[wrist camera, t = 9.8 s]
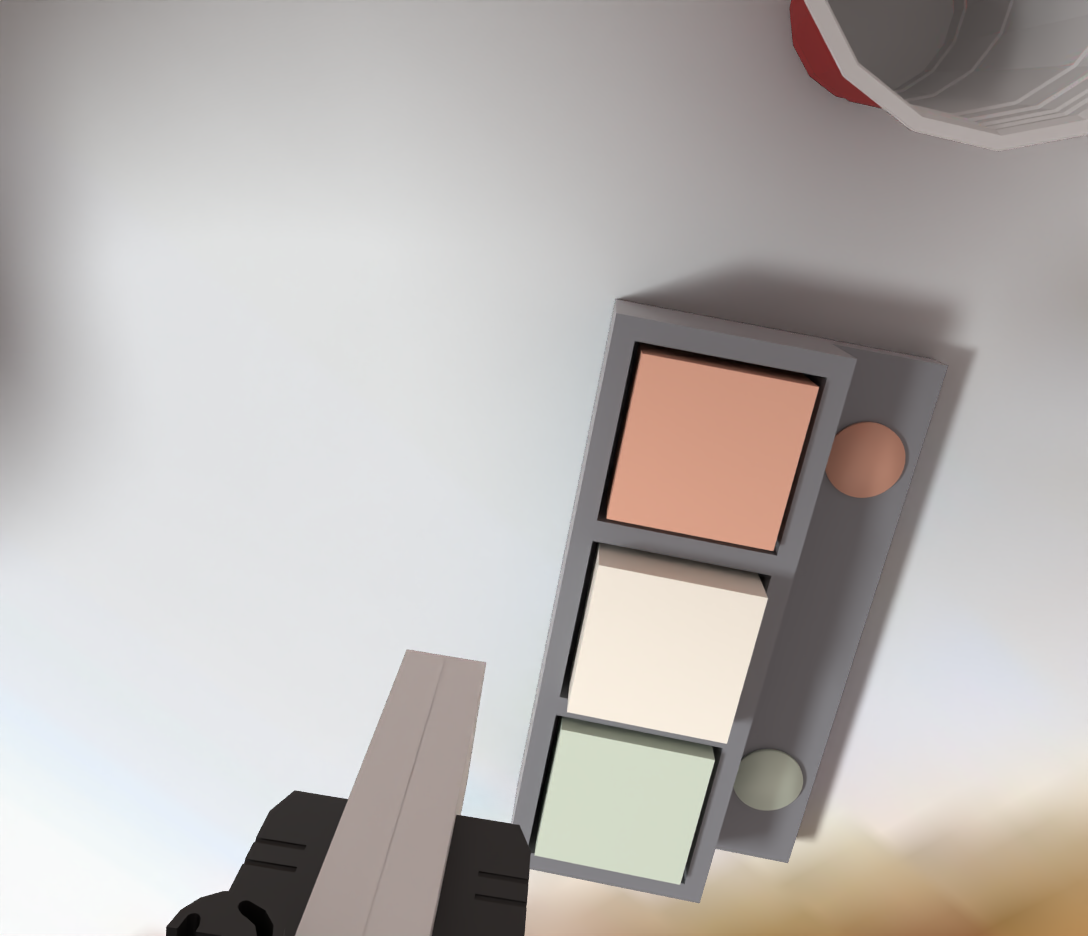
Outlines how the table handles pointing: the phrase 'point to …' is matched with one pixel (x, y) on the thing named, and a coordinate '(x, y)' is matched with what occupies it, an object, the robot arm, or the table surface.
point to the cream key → (665, 642)
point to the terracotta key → (709, 446)
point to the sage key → (622, 799)
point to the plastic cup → (955, 64)
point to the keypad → (786, 572)
